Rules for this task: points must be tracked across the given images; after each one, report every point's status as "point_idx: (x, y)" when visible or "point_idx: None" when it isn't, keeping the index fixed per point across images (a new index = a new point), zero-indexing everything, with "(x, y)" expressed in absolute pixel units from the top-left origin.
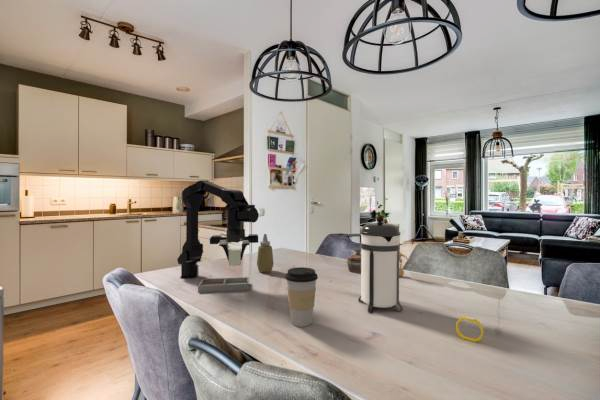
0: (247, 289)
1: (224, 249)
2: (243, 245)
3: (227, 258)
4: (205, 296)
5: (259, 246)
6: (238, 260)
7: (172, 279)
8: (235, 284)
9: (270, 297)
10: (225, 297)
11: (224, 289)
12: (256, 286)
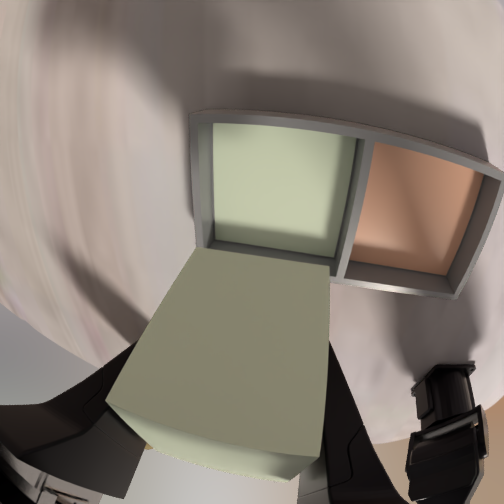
0: (206, 109)
1: (380, 478)
2: (23, 431)
3: (337, 362)
4: (459, 76)
5: (146, 446)
6: (196, 287)
7: (495, 358)
8: (278, 117)
9: (104, 8)
10: (344, 11)
11: (357, 123)
12: (165, 176)
